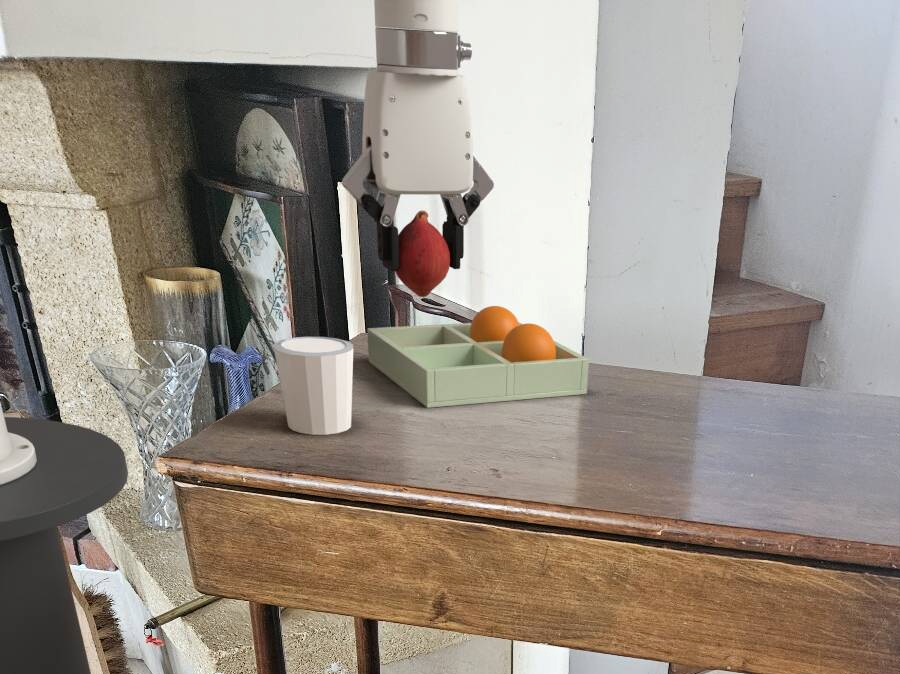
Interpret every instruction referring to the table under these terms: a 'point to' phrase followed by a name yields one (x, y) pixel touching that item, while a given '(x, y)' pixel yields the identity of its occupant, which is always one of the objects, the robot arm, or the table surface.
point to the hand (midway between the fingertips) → (421, 265)
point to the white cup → (316, 383)
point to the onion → (422, 256)
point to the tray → (469, 367)
